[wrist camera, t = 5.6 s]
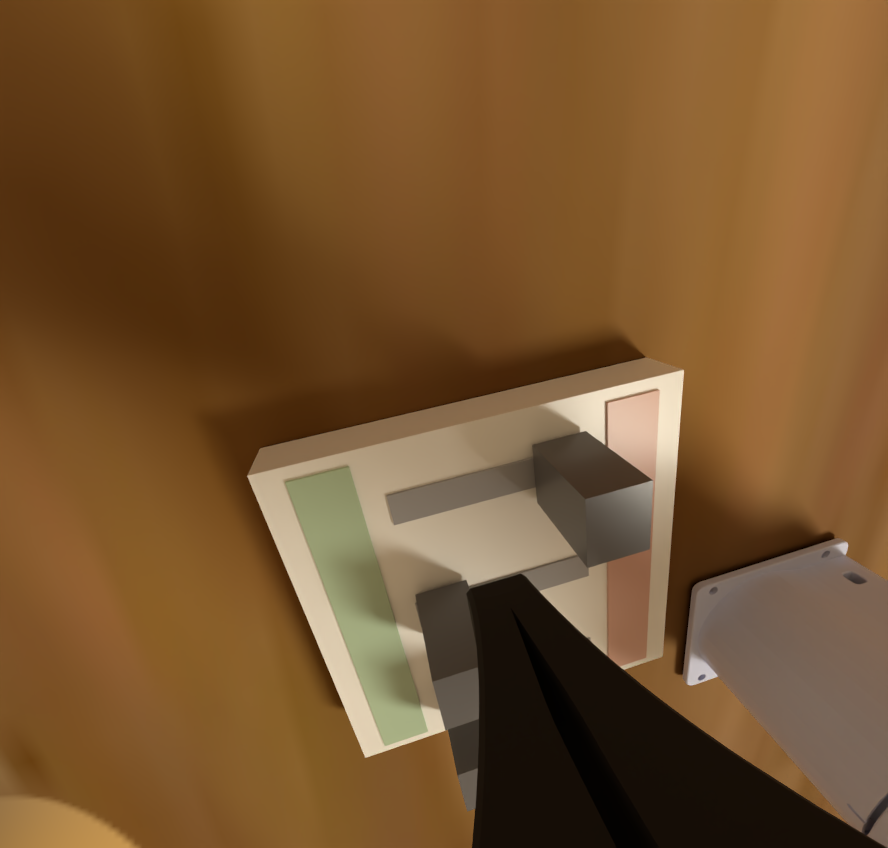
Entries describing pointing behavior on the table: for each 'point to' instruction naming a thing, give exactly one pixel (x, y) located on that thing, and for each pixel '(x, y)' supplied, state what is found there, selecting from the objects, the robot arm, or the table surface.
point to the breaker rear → (466, 759)
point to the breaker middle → (451, 652)
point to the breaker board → (463, 529)
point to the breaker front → (593, 497)
